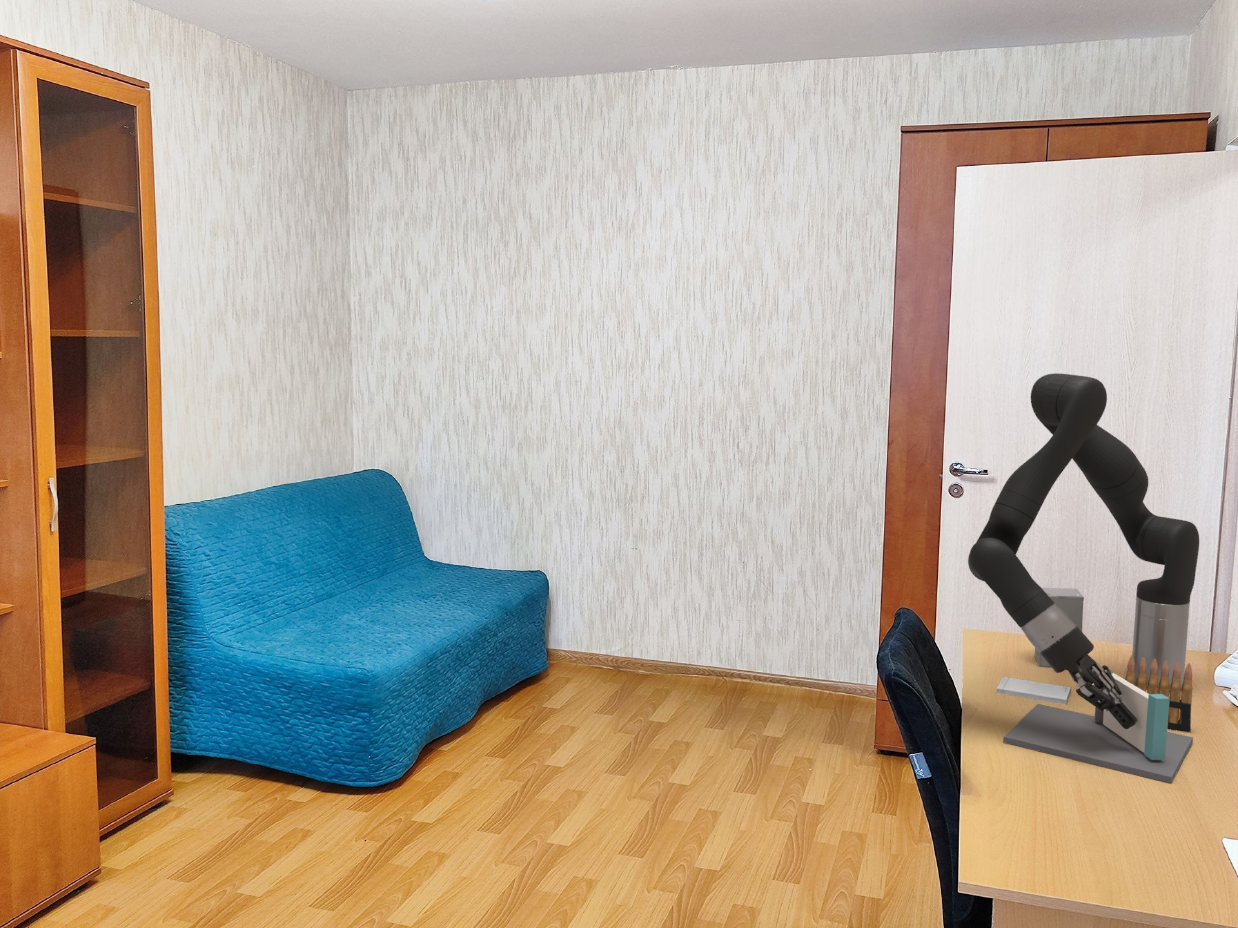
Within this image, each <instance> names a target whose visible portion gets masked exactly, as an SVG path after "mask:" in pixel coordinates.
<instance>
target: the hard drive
mask: <svg viewBox="0 0 1238 928" xmlns="http://www.w3.org/2000/svg"><path fill="white" fill-rule="evenodd" d="M995 693H996V694H1000V695H1007V696H1013V697H1017V698H1024V699H1028V700H1029V699H1030V700H1035V701H1042V702H1047V703H1052V704H1058V703H1059V704H1058V705H1064V706H1066V705H1068V701H1069V700H1070V699H1069V698H1070V697H1071V693H1072V687H1068V686H1065V685H1063V686H1062V685H1057V684H1051V683H1045V682H1038V681H1033V680H1028V679H1027V680H1026V679H1021V678H1014V677H1009V676H1008V677H1005V676H1002V678H1001V680H1000V681H999V684H998V685H997V687H996V691H995Z"/></svg>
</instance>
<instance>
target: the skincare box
mask: <svg viewBox="0 0 1238 928" xmlns="http://www.w3.org/2000/svg"><path fill="white" fill-rule="evenodd" d="M1041 588H1042V589H1043V590H1044V591H1045V592H1046V594H1047V595H1048V596H1049V597H1050V598H1051V599H1052V601H1053V602H1054V604H1056V605H1057V606H1058V607H1059V608H1060V609H1061V610H1063V611H1064V612H1065V613H1066V614H1067V615H1068V616H1069V618H1070V619H1071V620H1072V621H1073V622H1074V623H1075V624H1076V626H1077V627H1078V628H1079V629H1080V630H1081V631H1082V632H1083V622H1084V621H1083V620H1084V619H1083V618H1084V617H1083V615H1084V600H1085V599H1084V598H1085V596H1084V595H1082V593H1081V592H1080V591H1079V589H1078V588H1072V587H1071V588H1068V587H1067V588H1066V587H1065V588H1062V587H1058V588H1057V587H1041ZM1034 658H1035V660H1036V662H1037V664H1038V666H1039V667H1042V668H1043V667H1045V668H1046V667H1049V668H1052V667H1051V666H1050V665H1049V663H1048V662H1047V661H1046V660H1045V659H1044V658H1043V656H1042V655H1041V654H1040V653H1039V652H1038V650H1037V649H1036V648H1035V647H1034Z"/></svg>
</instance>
